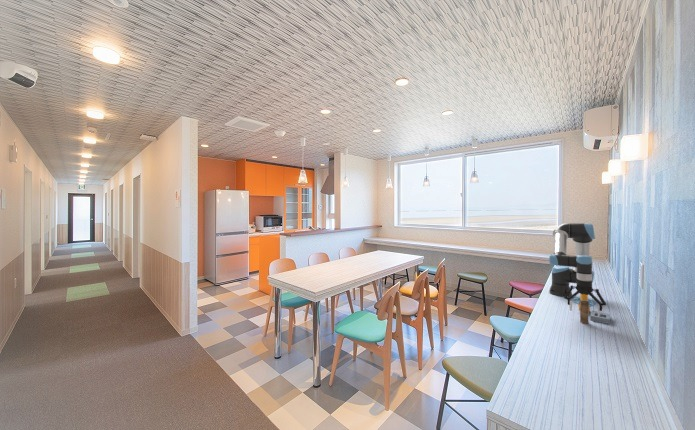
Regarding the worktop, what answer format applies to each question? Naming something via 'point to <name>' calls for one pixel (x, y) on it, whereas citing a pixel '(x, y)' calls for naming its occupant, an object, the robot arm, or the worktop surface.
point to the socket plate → (600, 317)
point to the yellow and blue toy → (584, 297)
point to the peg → (584, 311)
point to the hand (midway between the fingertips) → (584, 312)
